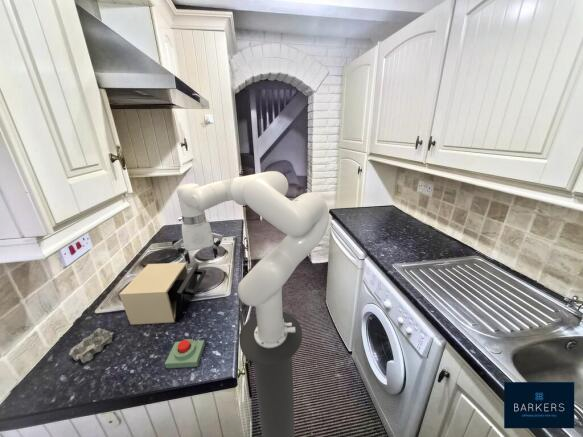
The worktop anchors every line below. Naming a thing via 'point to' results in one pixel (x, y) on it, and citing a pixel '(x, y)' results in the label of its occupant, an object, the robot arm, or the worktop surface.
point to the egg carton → (91, 345)
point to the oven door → (188, 290)
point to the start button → (184, 346)
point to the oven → (154, 293)
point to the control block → (185, 355)
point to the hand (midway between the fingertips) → (202, 259)
